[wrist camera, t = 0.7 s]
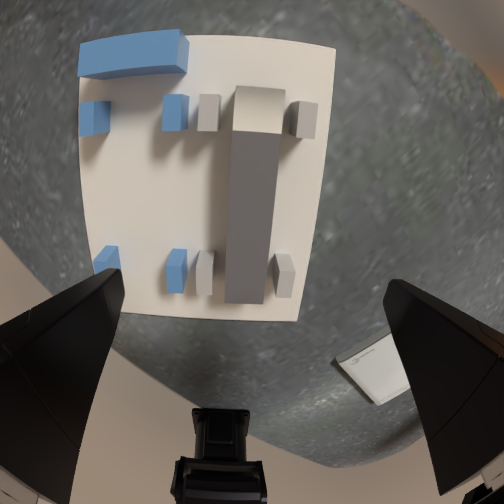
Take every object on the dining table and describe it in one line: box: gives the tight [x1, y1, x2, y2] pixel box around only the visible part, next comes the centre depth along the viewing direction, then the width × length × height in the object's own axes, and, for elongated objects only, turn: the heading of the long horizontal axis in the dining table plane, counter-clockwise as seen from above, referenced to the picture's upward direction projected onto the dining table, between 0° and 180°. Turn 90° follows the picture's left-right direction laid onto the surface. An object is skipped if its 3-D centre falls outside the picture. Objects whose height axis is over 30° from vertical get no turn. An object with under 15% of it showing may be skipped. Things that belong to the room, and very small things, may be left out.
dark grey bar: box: [224, 85, 285, 304], centre depth 17 cm, size 13×2×2 cm, turn 176°
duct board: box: [77, 29, 336, 321], centre depth 17 cm, size 20×16×4 cm
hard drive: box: [336, 325, 410, 405], centre depth 27 cm, size 2×8×12 cm
